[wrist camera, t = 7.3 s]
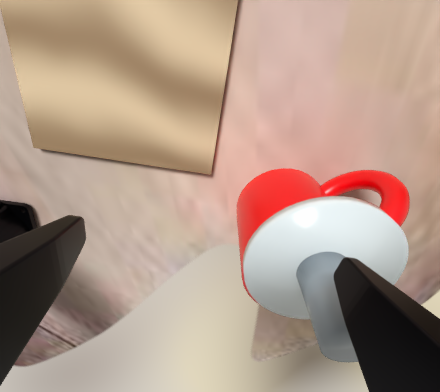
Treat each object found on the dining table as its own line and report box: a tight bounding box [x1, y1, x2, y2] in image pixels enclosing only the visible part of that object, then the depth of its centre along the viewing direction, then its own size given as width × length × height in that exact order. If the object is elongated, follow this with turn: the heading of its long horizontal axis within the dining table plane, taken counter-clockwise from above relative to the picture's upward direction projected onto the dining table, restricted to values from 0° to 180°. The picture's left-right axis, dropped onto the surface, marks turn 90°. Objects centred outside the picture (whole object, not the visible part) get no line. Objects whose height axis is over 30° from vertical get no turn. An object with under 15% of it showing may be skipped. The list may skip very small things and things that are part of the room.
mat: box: [0, 0, 238, 175], centre depth 16 cm, size 14×14×1 cm
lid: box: [243, 196, 408, 362], centre depth 12 cm, size 9×9×5 cm
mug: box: [237, 169, 409, 304], centre depth 18 cm, size 8×12×8 cm, turn 130°
